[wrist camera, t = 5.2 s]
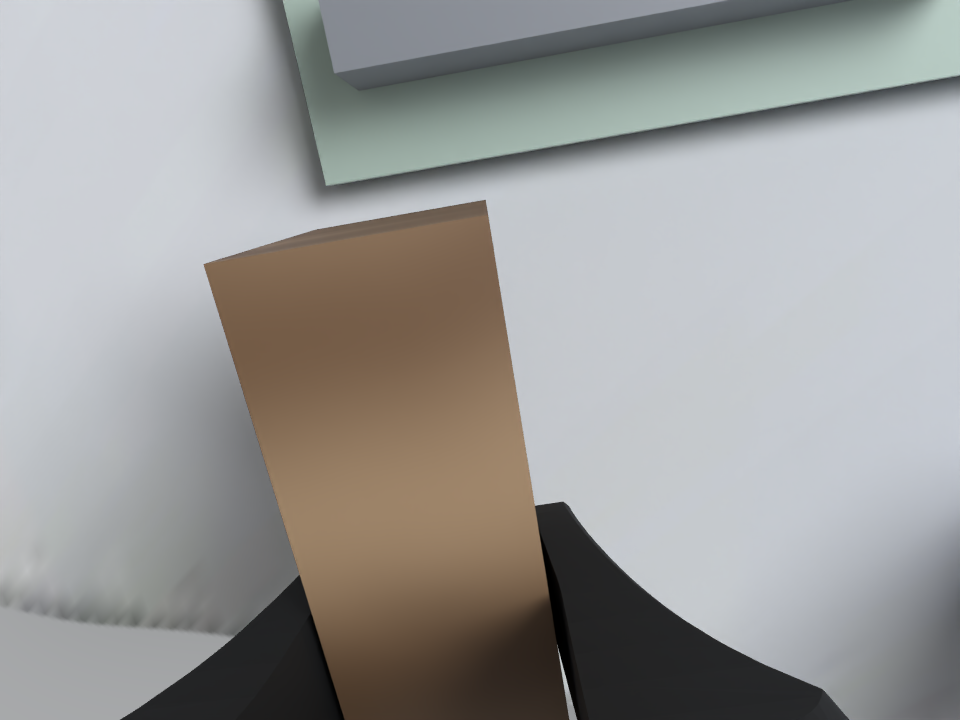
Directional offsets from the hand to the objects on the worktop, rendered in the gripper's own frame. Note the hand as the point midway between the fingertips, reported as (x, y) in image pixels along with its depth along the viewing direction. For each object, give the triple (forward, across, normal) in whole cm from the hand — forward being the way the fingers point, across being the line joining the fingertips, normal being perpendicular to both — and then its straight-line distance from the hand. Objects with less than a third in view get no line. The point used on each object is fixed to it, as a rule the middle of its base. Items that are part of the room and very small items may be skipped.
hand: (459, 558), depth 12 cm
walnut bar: (+2, 0, 0) cm, 2 cm away
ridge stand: (+8, -7, -11) cm, 16 cm away
